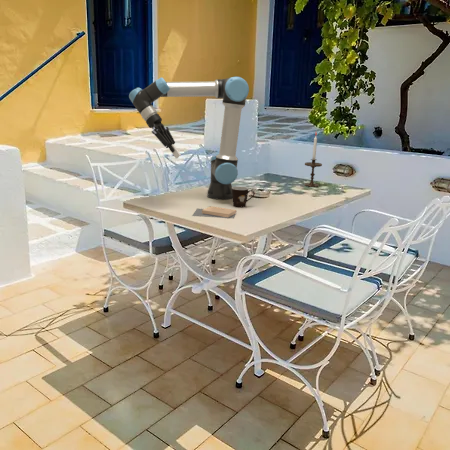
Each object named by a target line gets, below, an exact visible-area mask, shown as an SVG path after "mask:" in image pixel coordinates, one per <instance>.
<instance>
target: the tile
mask: <svg viewBox="0 0 450 450" xmlns="http://www.w3.org/2000/svg"><path fill="white" fill-rule="evenodd" d="M202 209H203V210H202V214H205V215H212V216H218V217H224V218H223V219H230V218H229V217H231V216H233V215H235V216H236V214H237V212H236V211H237V210H236V209H232V208H226V207H225V208H224V207H220V206H218V207H217V206H212V205H211V206H208V207H205V208H202Z"/></svg>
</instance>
